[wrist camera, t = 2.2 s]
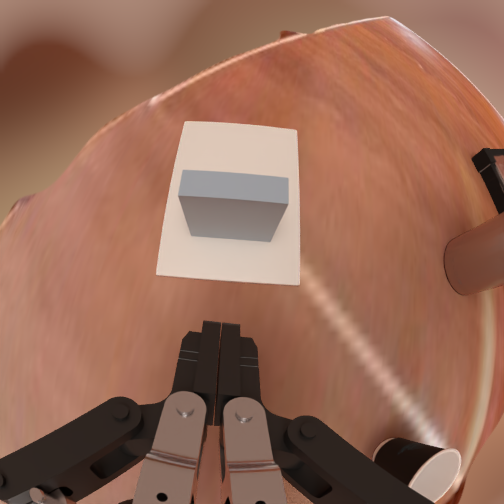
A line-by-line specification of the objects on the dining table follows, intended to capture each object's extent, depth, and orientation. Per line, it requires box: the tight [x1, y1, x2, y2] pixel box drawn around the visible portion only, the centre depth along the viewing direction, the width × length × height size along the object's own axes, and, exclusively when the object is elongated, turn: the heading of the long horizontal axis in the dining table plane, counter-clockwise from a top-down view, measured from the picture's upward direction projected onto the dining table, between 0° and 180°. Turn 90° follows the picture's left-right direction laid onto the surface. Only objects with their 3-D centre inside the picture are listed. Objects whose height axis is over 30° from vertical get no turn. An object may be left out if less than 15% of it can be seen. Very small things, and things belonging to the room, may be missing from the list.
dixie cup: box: [372, 438, 461, 502], centre depth 21 cm, size 8×8×11 cm
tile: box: [178, 170, 289, 242], centre depth 27 cm, size 2×9×10 cm, turn 87°
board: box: [156, 121, 300, 286], centre depth 34 cm, size 22×16×1 cm
